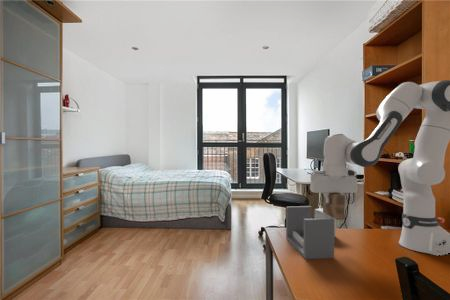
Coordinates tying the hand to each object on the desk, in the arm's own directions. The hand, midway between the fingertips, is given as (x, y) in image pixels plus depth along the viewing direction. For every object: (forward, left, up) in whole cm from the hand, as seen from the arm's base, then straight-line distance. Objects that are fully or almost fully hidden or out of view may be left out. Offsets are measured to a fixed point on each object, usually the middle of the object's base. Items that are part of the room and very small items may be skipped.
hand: (333, 202), depth 108 cm
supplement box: (-4, -16, -20) cm, 26 cm away
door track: (+11, -2, -20) cm, 23 cm away
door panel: (0, 0, -6) cm, 6 cm away
